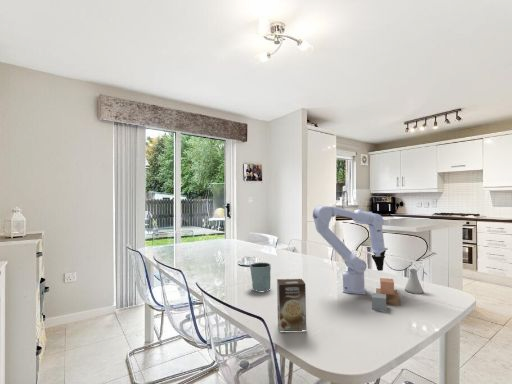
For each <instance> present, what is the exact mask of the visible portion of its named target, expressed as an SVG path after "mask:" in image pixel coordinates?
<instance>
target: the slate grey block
mask: <svg viewBox="0 0 512 384" xmlns="http://www.w3.org/2000/svg"><path fill="white" fill-rule="evenodd" d="M371 303H372V304H371V307H372V309H371V310H372V311H380V312H387V304H386V294H379V293H376V292H372V293H371Z"/></svg>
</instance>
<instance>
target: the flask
mask: <svg viewBox="0 0 512 384" xmlns="http://www.w3.org/2000/svg"><path fill="white" fill-rule="evenodd" d="M408 271H409V277H408V280H407V283H406V285H405V288H404V291H405V292H407V293H411V294H413V295H414V294H415V295H417V294H418V295H419V294H422V293H425V291H424V289H423V287H422V284H421V282H420V280H419V277H418V269H417V268H408Z"/></svg>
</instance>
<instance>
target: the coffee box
mask: <svg viewBox="0 0 512 384" xmlns="http://www.w3.org/2000/svg"><path fill="white" fill-rule="evenodd" d="M276 285H277V286H276V289H277V290H276V291H277V294H276V297H277V300H276V301H277V327H278V326H279V327H278V330H279V329H280V331H302V330H307V302H306V301H307V298H306V297H307V296H306V282H305V281H304V280H303V278H284V279H283V278H281V279H278V278H277V279H276ZM280 331H279V332H280Z"/></svg>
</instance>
